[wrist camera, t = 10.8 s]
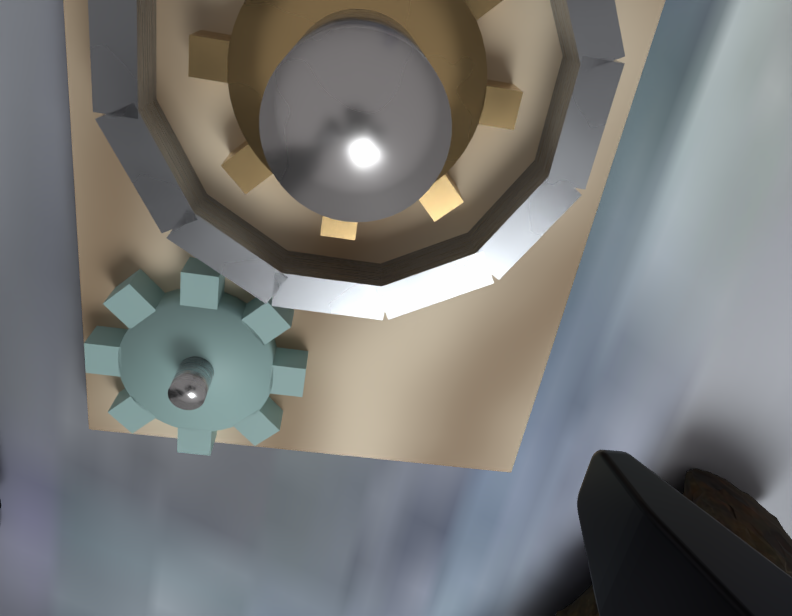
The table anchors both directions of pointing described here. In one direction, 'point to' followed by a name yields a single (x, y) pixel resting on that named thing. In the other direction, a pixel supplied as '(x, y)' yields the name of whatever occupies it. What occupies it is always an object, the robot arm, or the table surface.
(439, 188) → the bronze gear
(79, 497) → the table surface
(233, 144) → the gear board
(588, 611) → the hand tool
